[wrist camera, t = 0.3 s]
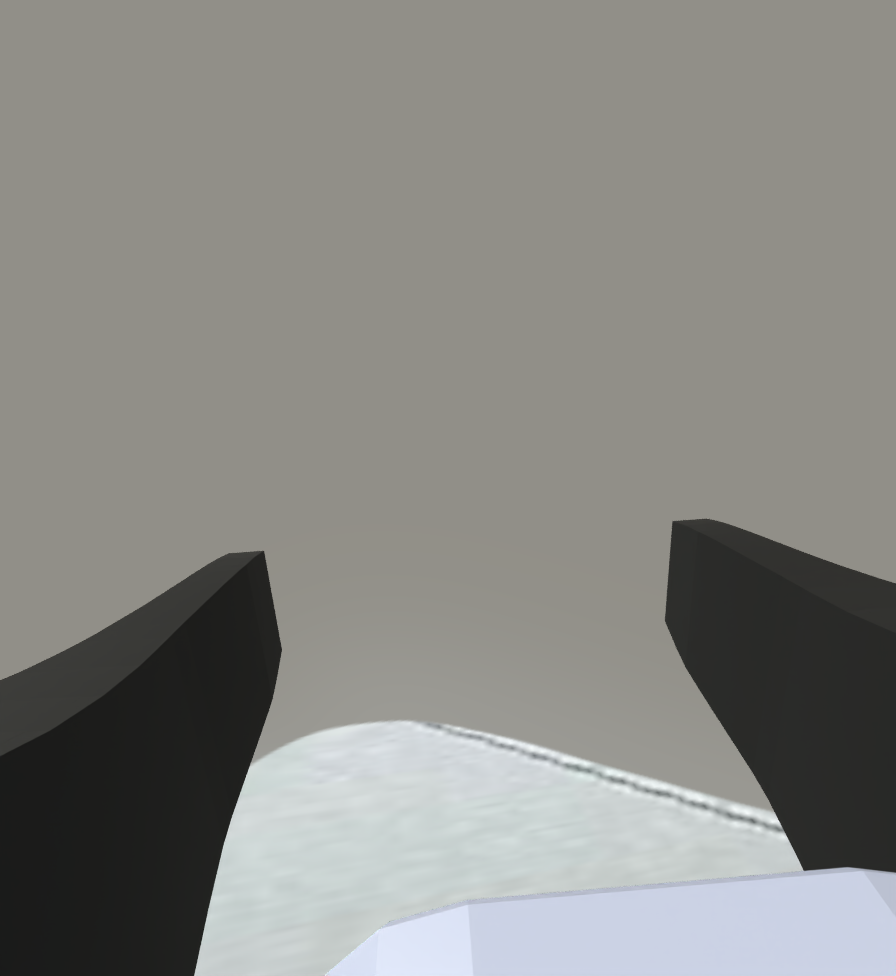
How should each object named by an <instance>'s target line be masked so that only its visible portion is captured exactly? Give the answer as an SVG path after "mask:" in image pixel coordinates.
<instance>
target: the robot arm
mask: <svg viewBox="0 0 896 976" xmlns="http://www.w3.org/2000/svg"><path fill="white" fill-rule="evenodd" d="M671 537H672V538H671V549H670V561H669V575H668V588H667V601H666V614H665V622H666V624H667V627H668V629H669V631H670V634H671V636H672V638H673V640H674V643H675V646H676V647H677V650H678V652H679V654H680V656H681V658H682V660H683V663H684V665H685V667H686V669H687V670H688V672H689V674H690V675H691V677H692V678H693V680H694V682H695V683H696V685H697V686H698V688H699V690H700V691H701V693H702V694H703V696H704V698H705V699H706V701H707V702H708V704H709V705H710V707H711V709H712V710H713V712H714V713H715V715H716V716H717V718H718V720H719V721H720V722H721V724H722V726H723V727H724V729H725V730H726V732H727V733H728V735H729V737H730V738H731V740H732V741H733V743H734V744H735V746H736V747H737V749H738V751H739V752H740V754H741V755H742V757H743V758H744V760H745V761H746V763H747V765H748V766H749V768H750V769H751V771H752V772H753V774H754V776H755V777H756V779H757V781H758V783H759V784H760V785H761V787H762V789H763V791H764V793H765V795H766V796H767V798H768V800H769V802H770V804H771V806H772V808H773V810H774V812H775V814H776V816H777V818H778V820H779V822H780V824H781V825H782V827H783V829H784V831H785V833H786V835H787V837H788V839H789V841H790V843H791V845H792V847H793V849H794V851H795V853H796V855H797V857H798V859H799V861H800V864H801V866H802V868H803V870H804V871H799V872H787V873H775V874H764V875H752V876H740V877H729V878H717V879H705V880H693V881H682V882H670V883H658V884H647V885H635V886H623V887H612V888H600V889H588V890H577V891H565V892H553V893H542V894H530V895H518V896H507V897H495V898H483V899H472V900H465V901H461V902H458V903H454V904H451V905H447V906H443V907H440V908H436V909H432V910H429V911H425V912H422V913H418V914H414V915H411V916H407V917H404V918H400V919H396V920H393V921H389V922H388V923H387V924H385V925H384V926H382V927H381V928H380V929H378V930H377V931H376V932H375V933H374V934H372V935H371V936H370V937H369V938H368V939H367V940H365V941H364V942H363V943H362V944H361V945H359V946H358V947H357V948H356V949H355V950H354V951H352V952H351V953H350V954H349V955H348V956H347V957H345V958H344V959H343V960H342V961H341V962H339V963H338V964H337V965H336V966H335V967H334V968H332V969H331V970H330V971H329V972H328V973H327V974H325V975H324V976H896V583H892V582H889V581H886V580H882V579H879V578H876V577H873V576H870V575H867V574H864V573H861V572H858V571H855V570H852V569H849V568H846V567H843V566H840V565H837V564H834V563H832V562H829V561H826V560H823V559H820V558H818V557H815V556H812V555H810V554H807V553H804V552H801V551H799V550H796V549H793V548H791V547H788V546H786V545H783V544H781V543H778V542H775V541H773V540H770V539H767V538H765V537H762V536H760V535H757V534H754V533H752V532H749V531H746V530H743V529H741V528H738V527H735V526H732V525H729V524H726V523H723V522H718V521H715V520H710V519H697V520H683V521H673V523H672V535H671ZM281 652H282V648H281V642H280V637H279V632H278V626H277V620H276V615H275V609H274V604H273V599H272V593H271V588H270V582H269V576H268V571H267V565H266V560H265V554H264V551H256V552H243V553H229V554H227V555H225V556H222V557H220V558H218V559H216V560H215V561H213V562H211V563H210V564H208V565H206V566H205V567H203V568H201V569H200V570H198V571H197V572H195V573H194V574H192V575H191V576H189V577H187V578H186V579H185V580H183V581H181V582H180V583H178V584H177V585H175V586H174V587H172V588H170V589H169V590H167V591H166V592H164V593H163V594H161V595H160V596H158V597H156V598H155V599H153V600H152V601H150V602H149V603H147V604H146V605H144V606H142V607H141V608H139V609H137V610H135V611H134V612H132V613H130V614H129V615H127V616H125V617H124V618H122V619H120V620H119V621H117V622H115V623H114V624H112V625H110V626H108V627H107V628H105V629H103V630H102V631H100V632H98V633H97V634H95V635H93V636H91V637H90V638H88V639H86V640H84V641H82V642H80V643H79V644H76V645H74V646H73V647H71V648H69V649H67V650H65V651H63V652H61V653H59V654H57V655H55V656H53V657H51V658H49V659H46V660H44V661H42V662H41V663H38V664H36V665H34V666H32V667H30V668H28V669H26V670H23V671H21V672H19V673H17V674H14V675H12V676H10V677H7V678H5V679H2V680H0V976H194V973H195V969H196V964H197V959H198V955H199V950H200V945H201V941H202V936H203V932H204V927H205V922H206V918H207V913H208V908H209V904H210V900H211V895H212V891H213V887H214V883H215V878H216V874H217V870H218V866H219V862H220V857H221V853H222V849H223V845H224V841H225V838H226V835H227V831H228V828H229V825H230V821H231V818H232V815H233V812H234V809H235V806H236V803H237V801H238V798H239V795H240V792H241V789H242V786H243V783H244V781H245V778H246V775H247V772H248V769H249V766H250V763H251V761H252V758H253V755H254V752H255V749H256V746H257V744H258V740H259V738H260V735H261V732H262V729H263V726H264V723H265V720H266V717H267V714H268V711H269V708H270V705H271V702H272V699H273V694H274V689H275V684H276V680H277V674H278V669H279V663H280V658H281Z"/></svg>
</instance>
